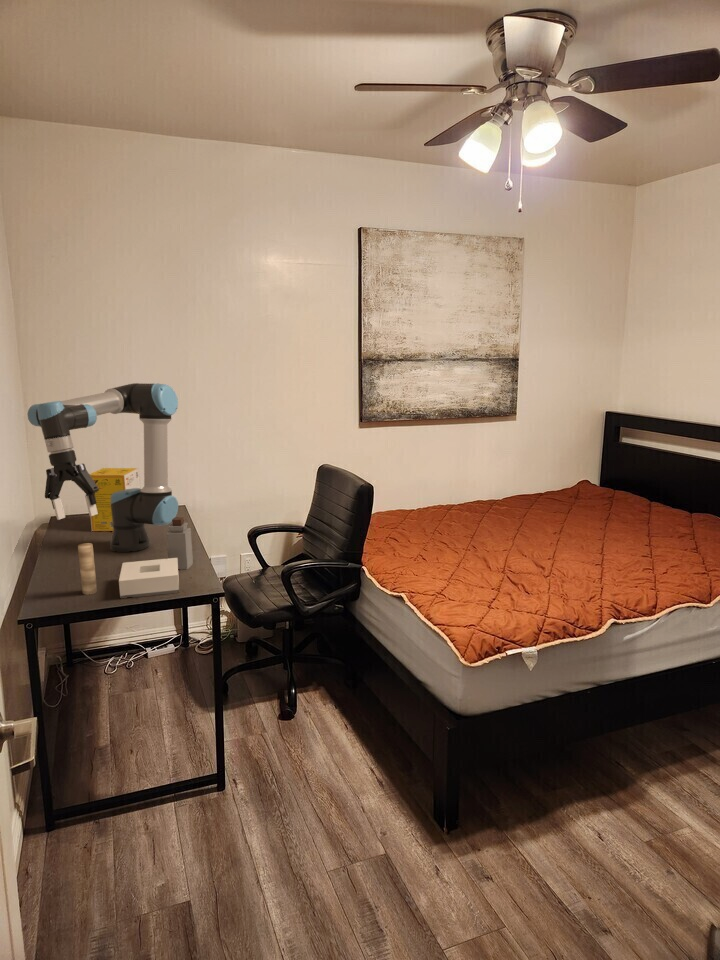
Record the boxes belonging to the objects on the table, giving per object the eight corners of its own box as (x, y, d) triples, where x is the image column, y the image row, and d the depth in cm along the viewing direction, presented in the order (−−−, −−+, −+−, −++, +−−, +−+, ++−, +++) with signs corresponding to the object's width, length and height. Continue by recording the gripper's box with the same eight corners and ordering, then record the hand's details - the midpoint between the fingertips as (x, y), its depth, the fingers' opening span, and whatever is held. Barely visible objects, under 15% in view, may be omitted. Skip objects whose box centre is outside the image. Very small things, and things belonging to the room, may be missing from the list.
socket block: (124, 579, 219) (122, 562, 218) (178, 573, 224) (177, 557, 222) (120, 598, 202) (118, 580, 201) (179, 592, 207) (178, 575, 206)
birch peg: (83, 590, 209) (78, 543, 206) (97, 588, 210) (93, 542, 207) (81, 595, 205) (76, 547, 202) (96, 593, 206) (91, 546, 203)
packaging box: (107, 521, 291) (103, 468, 286) (142, 522, 290) (138, 468, 285) (91, 532, 275) (86, 475, 270) (128, 532, 274) (124, 475, 269)
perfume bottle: (174, 563, 235) (171, 516, 231) (192, 563, 235) (189, 516, 231) (168, 569, 228) (165, 521, 225) (187, 569, 228) (184, 521, 224)
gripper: (22, 458, 200) (39, 523, 203) (82, 448, 191) (99, 516, 194) (41, 454, 207) (57, 516, 210) (100, 444, 197) (116, 510, 201)
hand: (77, 517), depth 202 cm, fingers open, 13 cm apart
